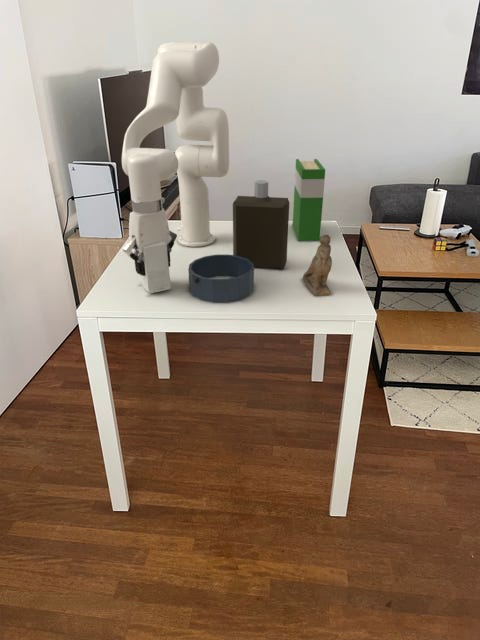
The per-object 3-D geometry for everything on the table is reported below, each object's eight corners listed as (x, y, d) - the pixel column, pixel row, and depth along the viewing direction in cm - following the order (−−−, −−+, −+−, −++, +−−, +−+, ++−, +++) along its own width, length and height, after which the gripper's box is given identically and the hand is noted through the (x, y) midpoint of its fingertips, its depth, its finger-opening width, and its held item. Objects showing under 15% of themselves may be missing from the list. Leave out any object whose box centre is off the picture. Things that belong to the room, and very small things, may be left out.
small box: (171, 289, 129) (167, 244, 123) (148, 294, 127) (143, 248, 121) (162, 278, 136) (157, 234, 129) (140, 282, 133) (135, 238, 127)
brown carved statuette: (329, 302, 129) (341, 246, 117) (309, 303, 129) (319, 246, 117) (319, 276, 138) (329, 221, 126) (301, 277, 137) (309, 222, 125)
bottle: (284, 270, 142) (288, 186, 130) (232, 267, 144) (231, 184, 132) (287, 260, 149) (291, 179, 136) (236, 257, 151) (236, 177, 139)
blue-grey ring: (174, 289, 131) (172, 267, 128) (225, 269, 143) (225, 248, 140) (217, 310, 120) (216, 287, 117) (269, 286, 132) (269, 265, 129)
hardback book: (292, 224, 180) (295, 159, 168) (312, 224, 180) (316, 159, 168) (298, 241, 164) (302, 169, 152) (319, 240, 164) (325, 169, 152)
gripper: (165, 196, 128) (170, 257, 137) (109, 210, 117) (118, 275, 126) (183, 201, 123) (187, 264, 132) (126, 216, 113) (134, 283, 121)
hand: (153, 269), depth 129 cm, fingers closed on small box, 7 cm apart
